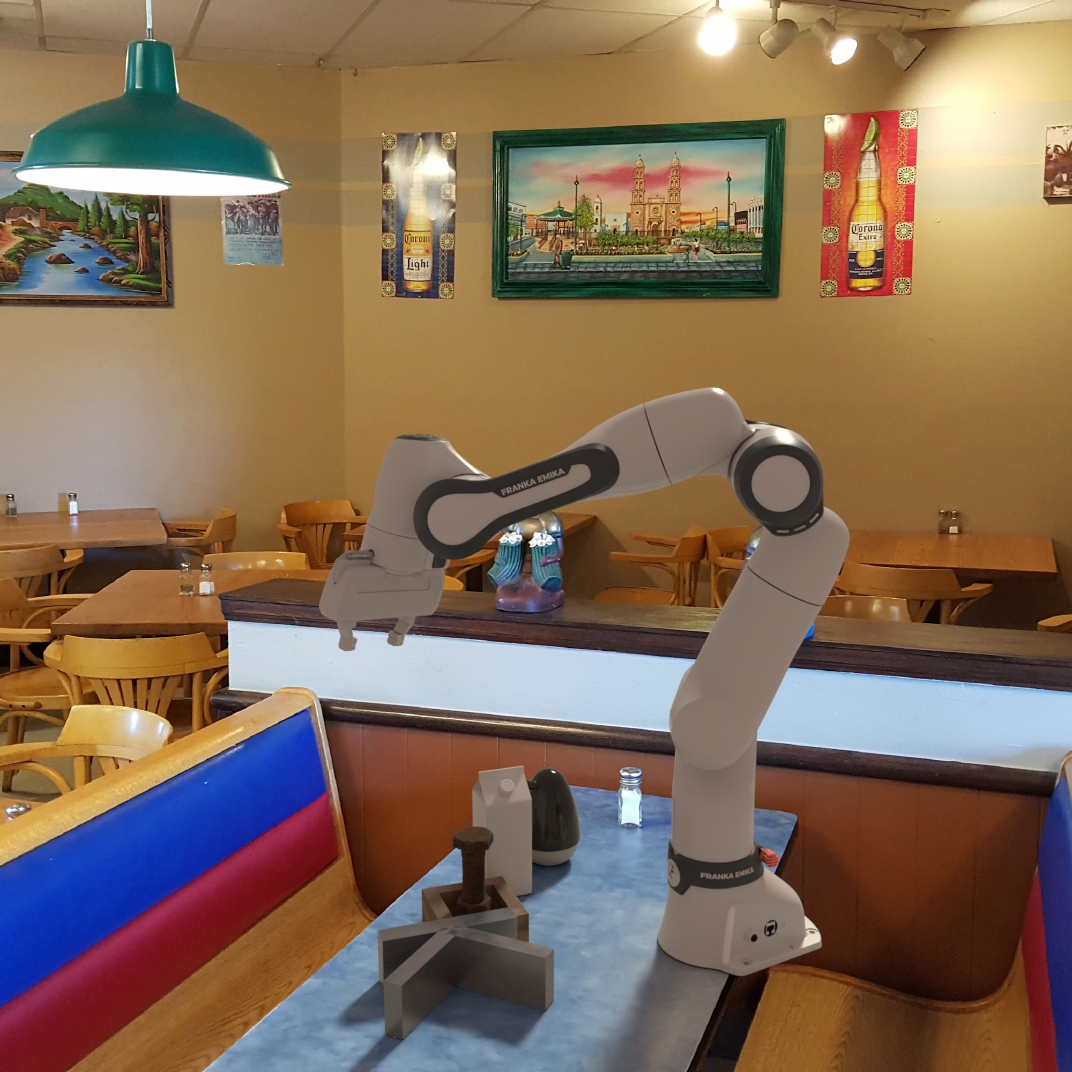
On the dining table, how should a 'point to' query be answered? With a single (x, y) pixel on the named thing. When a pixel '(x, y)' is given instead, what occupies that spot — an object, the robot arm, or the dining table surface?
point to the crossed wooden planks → (459, 965)
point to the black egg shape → (553, 818)
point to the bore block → (445, 898)
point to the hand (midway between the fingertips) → (370, 647)
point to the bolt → (473, 868)
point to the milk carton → (506, 825)
